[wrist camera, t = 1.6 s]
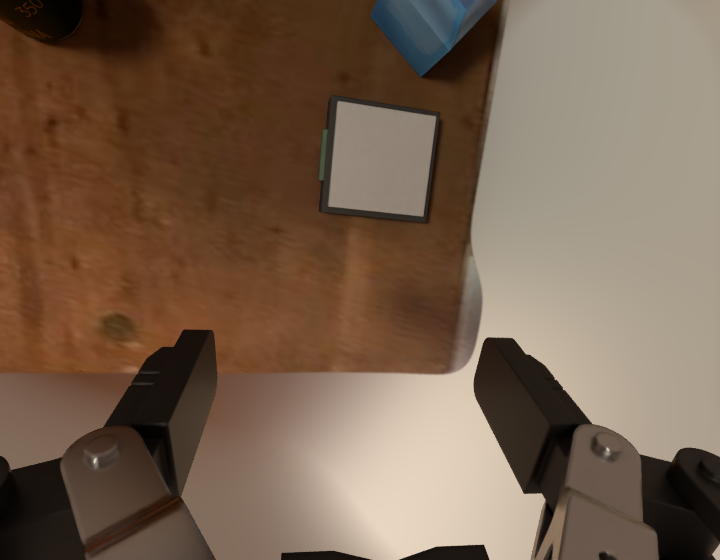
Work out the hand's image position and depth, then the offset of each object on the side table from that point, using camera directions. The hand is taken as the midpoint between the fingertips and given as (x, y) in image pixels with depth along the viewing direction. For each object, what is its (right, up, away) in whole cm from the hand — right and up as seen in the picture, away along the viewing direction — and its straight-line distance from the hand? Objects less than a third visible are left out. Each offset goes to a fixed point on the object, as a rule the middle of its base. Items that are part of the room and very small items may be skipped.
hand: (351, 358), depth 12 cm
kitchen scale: (+2, +12, +23) cm, 26 cm away
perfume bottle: (+5, +24, +22) cm, 33 cm away
